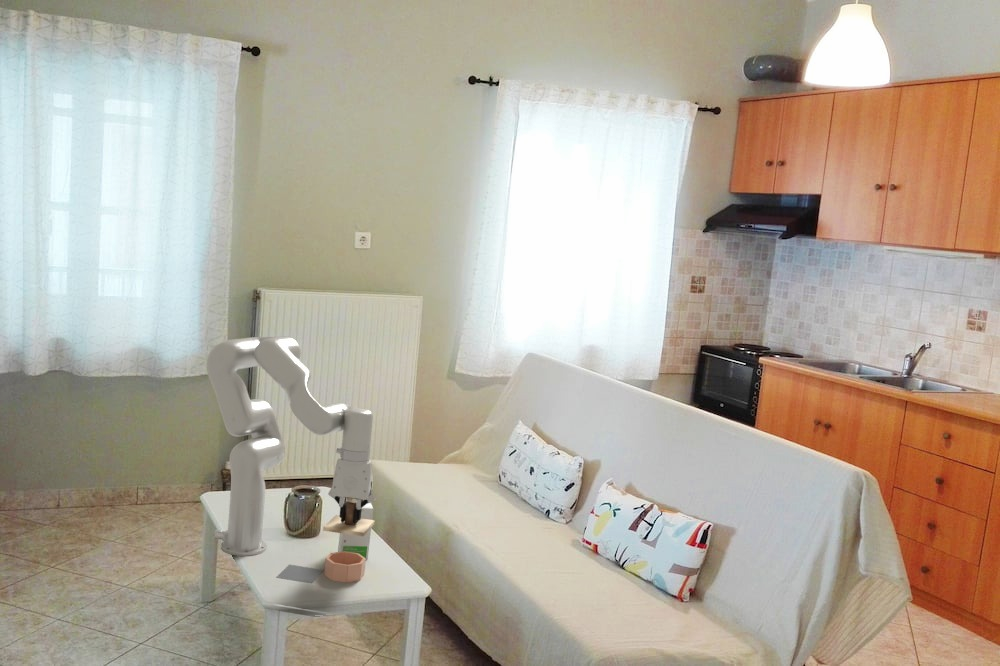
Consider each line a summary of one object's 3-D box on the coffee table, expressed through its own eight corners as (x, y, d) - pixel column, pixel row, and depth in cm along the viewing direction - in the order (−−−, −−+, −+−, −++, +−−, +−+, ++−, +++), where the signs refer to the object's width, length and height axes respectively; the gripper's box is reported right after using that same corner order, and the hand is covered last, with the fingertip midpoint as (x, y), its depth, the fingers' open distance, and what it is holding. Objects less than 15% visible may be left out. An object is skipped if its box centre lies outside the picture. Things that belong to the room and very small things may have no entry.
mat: (275, 578, 253) (275, 577, 253) (289, 565, 263) (289, 564, 263) (312, 584, 252) (312, 583, 251) (324, 571, 261) (324, 569, 261)
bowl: (320, 579, 255) (322, 561, 255) (332, 566, 265) (333, 549, 265) (356, 585, 254) (358, 567, 254) (367, 572, 264) (368, 554, 263)
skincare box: (339, 560, 270) (344, 507, 269) (337, 552, 277) (341, 500, 275) (368, 560, 273) (374, 508, 271) (366, 552, 279) (370, 500, 277)
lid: (323, 530, 253) (325, 505, 252) (335, 518, 264) (337, 493, 263) (363, 536, 252) (365, 510, 251) (374, 523, 263) (376, 499, 262)
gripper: (321, 454, 253) (316, 521, 255) (381, 462, 251) (375, 529, 253) (330, 447, 260) (325, 513, 262) (388, 455, 258) (382, 521, 260)
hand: (349, 520), depth 258 cm, fingers closed on lid, 2 cm apart
